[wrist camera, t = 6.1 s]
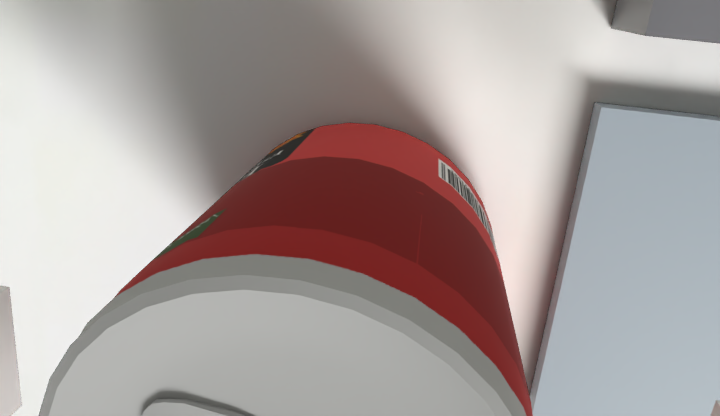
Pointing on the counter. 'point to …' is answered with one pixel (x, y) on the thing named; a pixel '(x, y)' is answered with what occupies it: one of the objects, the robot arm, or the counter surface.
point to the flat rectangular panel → (637, 272)
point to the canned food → (313, 297)
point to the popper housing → (670, 19)
